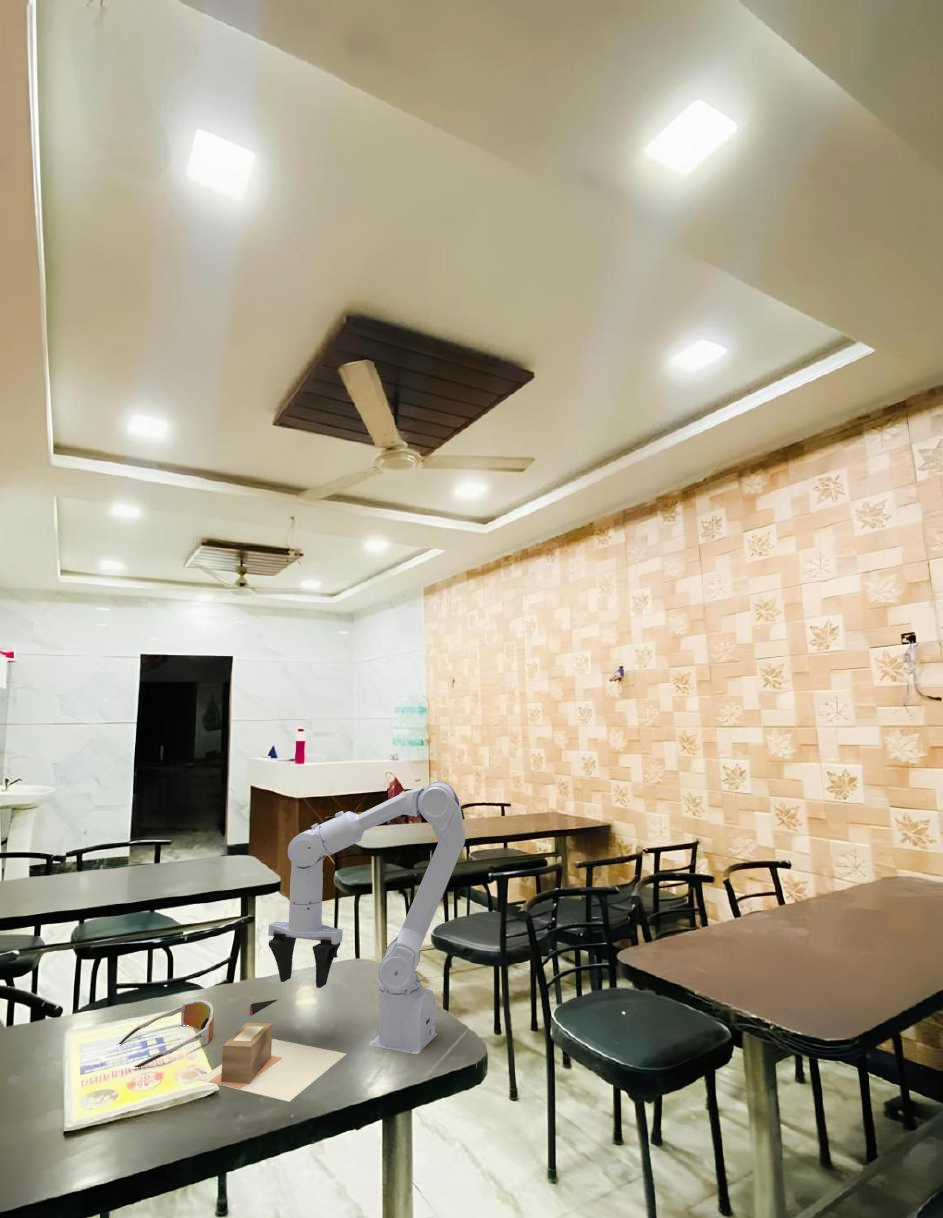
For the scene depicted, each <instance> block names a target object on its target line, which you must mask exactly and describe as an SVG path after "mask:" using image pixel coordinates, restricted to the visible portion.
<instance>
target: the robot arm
mask: <svg viewBox="0 0 943 1218" xmlns="http://www.w3.org/2000/svg"><path fill="white" fill-rule="evenodd" d="M420 814H421V816H422V817H423V818H424V819H425V820H426V822H427V823H428V824H429V825H430V826H431V827H432V830H433V832H434V836H435V838H436V840H437V845H436V848H435V850H434V852H433V854H432V856H431V859H430V861H429V863H428V866H427V868H426V871H425V873H424V875H423V877H422V880H421V882H420V884H419V886H418V889H417V892H416V894H415V897H414V898H413V902H412V903H411V905H410V908H409V910H408V913H407V915H406V917H405V919H404V921H403V924H402V926H401V929H400V932H399V934H398V935H397V936H396V937H395V938H394V939H393V940H392V941H391V942H390V943H389V944H388V946H387V949H386V952H385V953H384V954H385V955H384V957H383V958H382V959H381V962H380V964H379V965H378V969H377V973H378V974H377V975H378V980H379V985H378V986H379V988H378V1035H377V1036H375V1038H374V1039H372V1040H371V1041H370V1042H369V1043H368V1046H372V1047H378V1048H382V1049H386V1050H393V1051H397V1052H403V1053H408V1054H413V1055H417V1054H418V1055H419V1053H420V1052H422V1051H423V1049H424V1048H425V1047H427V1045H428V1044H429V1043H430V1042H431V1041H432V1040H433V1039H435V1037H436V1036H437V1035H438V1034H437V1032H436V997H435V993H434V991H433V990H431V989H428V988H426V987H424V986H423V985H422V984H421V979H420V977H419V975H418V973H417V972H416V971H417V968H418V965H419V963H420V959H421V948H422V945H423V944H424V940H425V938H426V936H427V933H428V931H429V928H430V927H431V924H432V921H433V920H434V919H433V918H434V916H435V915H436V912H437V910H438V907H439V905H440V903H441V900H442V898H443V896H444V893H445V891H446V889H447V886H448V884H449V881H450V878H451V876H452V874H453V872H454V869H455V867H456V864H457V862H458V859H459V858H460V855H461V852H462V851H463V848H464V846H465V843H466V837H467V836H466V832H465V826H464V820H463V814H462V808H461V801H460V799H459V797H458V795H457V793H456V792H455V789H454V787H452V786H451V785H450V784H449V783H447V782H446V781H442V780H441V781H440V780H436V781H434V782H432V783H430V784H428V785H427V786H426V785H422V786H418V787H415V788H413V789H408V790H406V791H403V792H402V793H400V794H398V795H396V796H394V797H391V798H390V799H387V800H385V801H384V802H382V803H380V804H378V805H375V806H374V807H372V808H369V809H367V810H365V811H364V812H361V813H359V814H358V813H355V812H353V811H350V810H349V811H346V812H344V811H343V810H341V811H339V812H336V813H335V814H334V816H335V817H333V818H331V819H329V820H327V821H324V822H322V823H321V824H319V823H318V822H317V823H314V824H313V825H311V826H310V828H311V829H306V830H304V831H303V832H300V833H298V835H296V836H294V837H293V838H292V839H291V840H290V842H289V844H288V846H287V857H288V859H289V861H290V862H291V871H290V881H289V907H288V908H289V911H288V912H289V913H288V921H274V922H272V923H269V924H268V933H267V935H268V936H269V937H272V939H271V940H269V941H268V947H269V949H270V950H271V953H272V954H273V957H274V960H275V962H276V966H277V970H278V975H279V980H280V983H281V982H282V983H284V982H287V981H288V980H290V979H291V978H292V972H293V971H292V970H293V956H294V950H295V945H296V942H297V939H302V940H308V941H319V943H317V944H315V945H313V946H312V951H313V956H314V963H315V986H316V988H318V989H321V988H323V987H324V986H326V985H327V983H328V977H329V973H330V970H331V966H332V964H333V961H334V958H335V956H336V954H337V953H338V950H339V948H340V946H341V944H342V943H341V942H343V932H344V931H343V929H340V928H337V927H333V926H330V925H325V924H323V921H322V919H323V916H322V915H323V888H324V887H323V885H324V882H323V879H324V872H323V867H324V866H323V864H324V861H323V857H324V856H327V857H328V856H329V857H330V856H332V855H334V854H335V853H338V852H340V851H342V850H344V849H346V848H348V847H350V846H353V845H355V844H357V843H359V842H361V841H362V838H363V836H364V833H365V832H366V831H367V830H369V829H372V828H374V827H376V826H378V825H381V824H384V823H386V822H388V821H390V820H393V819H395V818H398V817H399V816H402V815H406V816H410V817H415V818H418V816H419V815H420Z"/></svg>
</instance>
